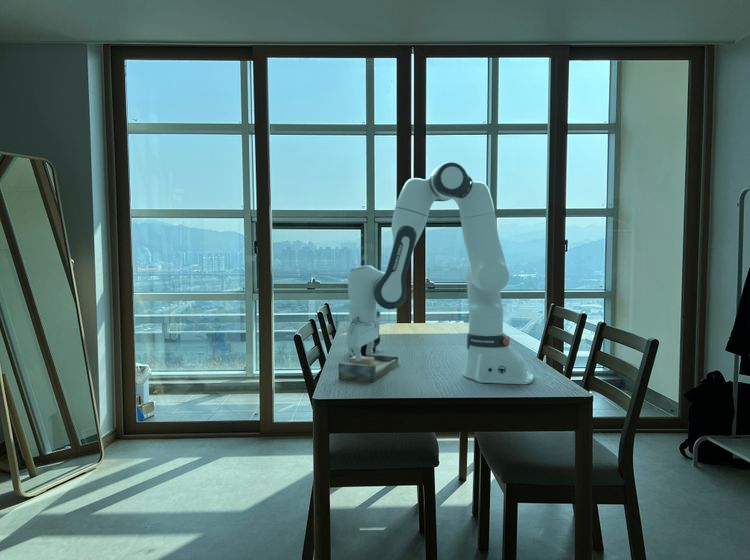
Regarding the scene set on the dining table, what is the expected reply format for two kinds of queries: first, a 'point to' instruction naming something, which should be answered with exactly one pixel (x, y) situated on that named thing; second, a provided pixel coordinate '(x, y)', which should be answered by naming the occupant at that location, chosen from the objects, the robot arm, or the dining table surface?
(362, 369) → the track
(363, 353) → the beverage can
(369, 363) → the block
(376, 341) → the figurine
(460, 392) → the dining table surface
